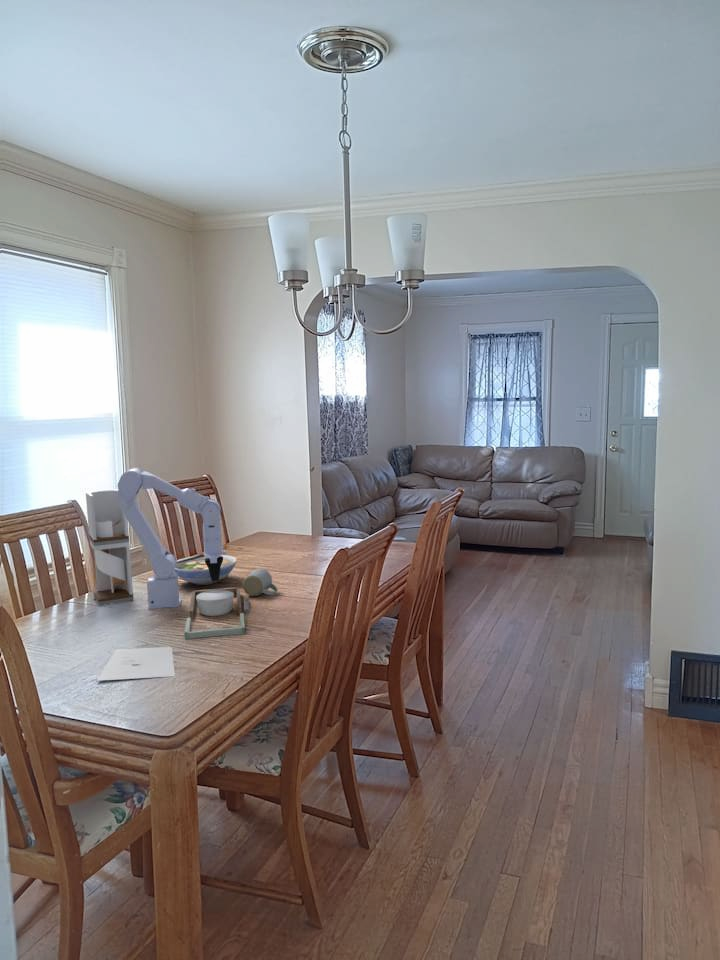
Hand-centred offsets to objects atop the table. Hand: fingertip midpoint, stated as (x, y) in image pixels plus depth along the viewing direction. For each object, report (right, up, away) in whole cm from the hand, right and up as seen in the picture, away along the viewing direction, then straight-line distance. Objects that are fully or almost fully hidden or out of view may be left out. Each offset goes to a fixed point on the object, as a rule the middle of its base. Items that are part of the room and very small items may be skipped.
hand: (215, 580), depth 228 cm
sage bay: (+5, -10, -26) cm, 28 cm away
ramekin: (+2, -8, -10) cm, 13 cm away
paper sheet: (-2, -14, -51) cm, 53 cm away
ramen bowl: (-8, -4, +24) cm, 26 cm away
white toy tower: (-35, -7, +7) cm, 36 cm away
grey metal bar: (+11, -8, -7) cm, 15 cm away
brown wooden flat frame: (+1, -7, -5) cm, 9 cm away
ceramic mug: (+14, -6, +8) cm, 17 cm away
